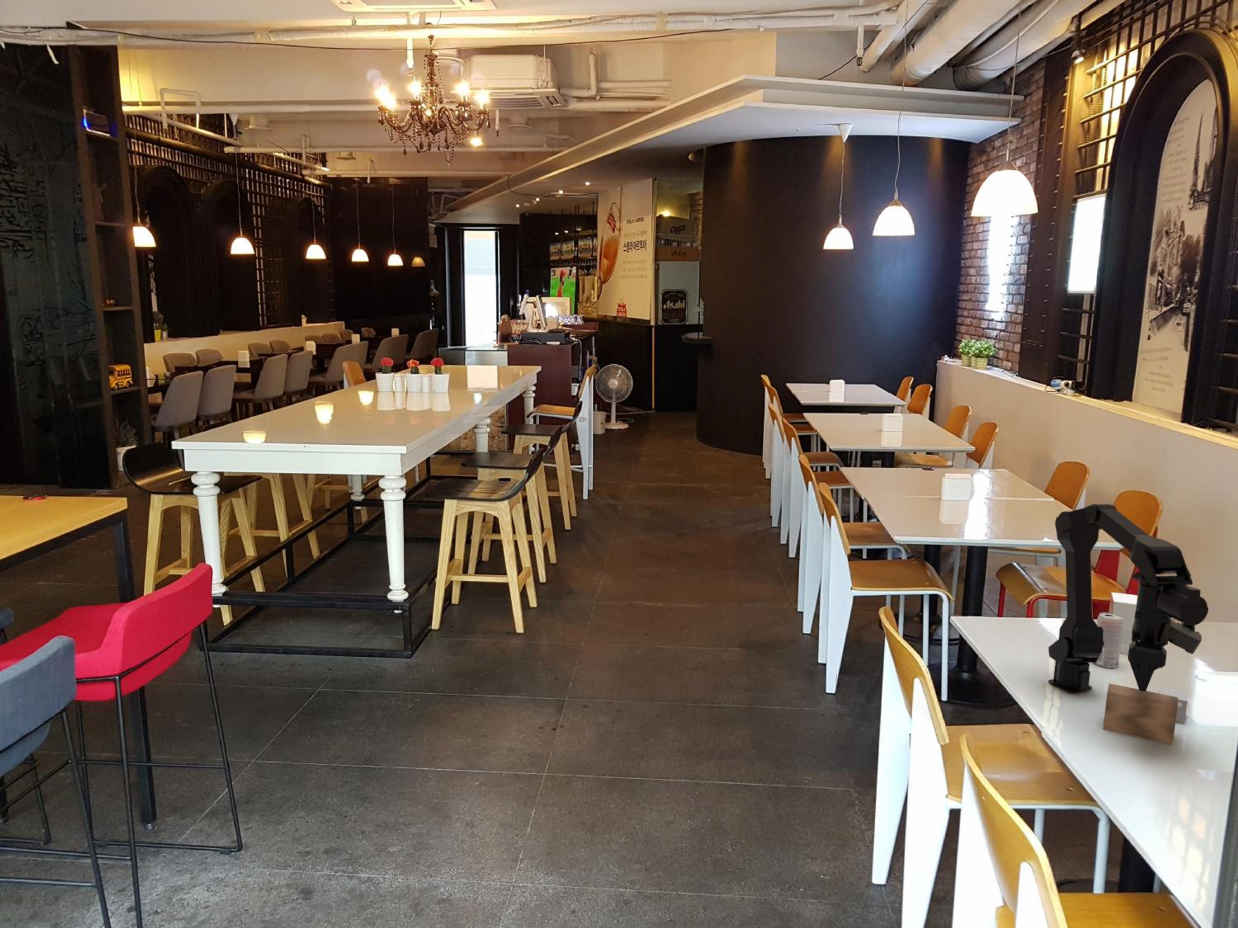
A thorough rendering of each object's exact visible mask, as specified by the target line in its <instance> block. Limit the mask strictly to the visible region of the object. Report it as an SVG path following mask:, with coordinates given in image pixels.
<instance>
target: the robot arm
mask: <svg viewBox="0 0 1238 928" xmlns="http://www.w3.org/2000/svg"><path fill="white" fill-rule="evenodd" d="M1054 528H1055V531H1056V539H1057V541H1058V542H1059V544H1060V545H1061V547H1062V549H1063V550H1064V552H1065V583H1066V584H1065V585H1066V586H1065V587H1066V588H1065V589H1066V591H1065V592H1066V618H1065V620H1064V621H1063V622H1062V624H1061V625H1060V627H1059V633H1058V639H1057V640H1056V641H1054V642H1053V643H1052V644H1051V645H1049V646H1048V647H1047V648H1048V656H1049V658H1051V659H1052V660H1054V661H1055V662H1054V670H1053V679H1048V680H1047V681H1048V684H1050V685H1052V686H1056V687H1057V688H1059V689H1062V690H1063V691H1066V692H1068V693H1071V694H1076V693H1080V692H1085V691H1089V690H1092V689H1093V686H1092V685H1090V679H1091V671H1090V664H1095V663H1097V660H1098V658H1099V656H1100V654H1101V653H1102V650H1103V646H1104V641H1103V632H1104V631H1103V628H1102V627H1098V626H1097V623H1096V621H1095V619H1094V618H1093V592H1092V555H1091V554H1092V550H1094V547H1095V546H1096V544H1097V542H1098V541H1099V536H1100V535H1099V534H1100V530H1102V531H1103V532H1105V534H1107V535H1108V536H1109V537H1111V538H1112V539H1113V540H1114V541H1115V542H1116V543H1118V544H1119V545H1120V546H1121V547H1123V548H1124V549H1125V550H1126V551H1127V552H1128V553H1129V558H1130V561H1131V562H1132V564H1133V565H1134V566H1135V567H1136V569H1137V570H1138V571H1137V572H1135V573H1133V574H1131V578H1132V579H1133V580H1136V581H1138V588H1137V604H1136V611H1135V619H1134V623H1133V628H1132V643H1131V644H1130V645H1129V651H1128V654H1127V659H1128V662H1129V665H1130V668H1131V670H1132V673H1133V676H1134V679H1135V682H1136V685H1137V689H1139V690H1140V691H1144V692H1145V691H1148V690H1147V689H1148V688H1149V687H1148V686H1149V684H1150V683H1151V679H1152V677H1153V674H1154V673H1155V671H1156V670H1158V669H1162V668H1164V667H1166V665H1167V655H1168V652H1167V651H1168V650H1166V649H1165V647H1166V646H1168V644H1169V643H1171V644H1172V645H1174V646H1175V647H1178V648H1180V649H1182V650H1184V651H1185V652H1186V653H1187V654H1191V655H1193V654H1194V653H1195V652H1196V651H1197V649H1198V647H1199V646H1200V644H1201V642H1202V641H1203V636H1202V634H1200V631H1196V626H1197V625H1200V624H1201V623H1203V621H1204V620H1205V619H1206V618H1207V616H1208V614H1209V606H1208V603H1207V601H1206V600H1205V598H1204V597H1202V596H1201V589H1199V588H1196V587H1193V586H1192V585H1193V580H1192V577H1191V576H1192V574H1191V572H1190V570H1189V568H1188V567H1187V563H1186V561H1185V558H1184V556H1183V552H1182V550H1181V549H1180V548H1179V546H1177V545H1175V544H1173V543H1171V542H1169V541H1168V540H1165V539H1162V538H1158V537H1155V536H1151V535H1150V534H1148V533H1147V532H1146V531H1144V530H1143V529H1142V528H1140V527H1139V526H1138V525H1136V523H1134V522H1133V521H1132V520H1131V519H1129V518H1128V517H1127V516H1125V515H1124V514H1122V512H1119V511H1118V510H1117V507H1116V506H1115V505H1113V504H1110V503H1091V505H1090V504H1089V505H1087V506H1085V507H1082V508H1078V509H1074V510H1070V511H1068V510H1064V511H1062V512H1059V515H1058V516H1056V518H1055V521H1054ZM1191 586H1192V587H1191ZM1172 619H1174V620H1176V621H1177V622H1176V621H1173V620H1172Z"/></svg>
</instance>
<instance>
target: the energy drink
mask: <svg viewBox="0 0 1238 928" xmlns="http://www.w3.org/2000/svg"><path fill="white" fill-rule="evenodd" d="M1123 622H1124V621H1123V617H1122V616H1120V615H1117V614H1114V613H1109V612H1100V613H1099V615H1098V617H1097V623H1096V624H1097V626H1098V627H1102V628H1103V631H1104V632H1103V641H1104V646H1103V650H1102V653H1101V654H1100V656H1099V658H1098V660H1097V663H1094V664H1095V665H1096V666H1098V667H1101V668H1105V669H1116V668H1117V667H1118V666H1119V663H1120V657H1121V656H1120V654H1121V653H1120V647H1121V639H1122V631H1123Z"/></svg>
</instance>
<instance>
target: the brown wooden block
mask: <svg viewBox="0 0 1238 928" xmlns="http://www.w3.org/2000/svg"><path fill="white" fill-rule="evenodd" d="M1177 707H1178V697H1174V696H1169V695H1164V694H1159V692H1153V691H1149V690H1146V691H1145V692H1144V691H1140V690H1139V688H1133V687H1128V686H1124V685H1119V684H1114V683H1110V682H1109V683H1108V687H1107V692H1106V700H1105V708H1104V717H1103V726H1102V729H1103V730H1106V731H1110V732H1114V733H1119V734H1124V735H1128V736H1134V737H1137V738H1141V739H1145V740H1150V741H1154V742H1159V743H1164V744H1168V745H1172V746H1173V744H1174V736H1175V728H1176V723H1177V722H1176V715H1177Z"/></svg>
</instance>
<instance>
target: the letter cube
mask: <svg viewBox="0 0 1238 928" xmlns="http://www.w3.org/2000/svg"><path fill="white" fill-rule="evenodd" d="M1158 693H1159V694H1164V695H1169V696H1174V697H1178V707H1177V715H1176V722H1175V723H1180V724H1185V723H1186V716H1187V707H1188V701H1189V699H1188V691H1182V690H1177V689H1174V688H1173V689H1172V688H1167V687H1162V686H1159V689H1158Z"/></svg>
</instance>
